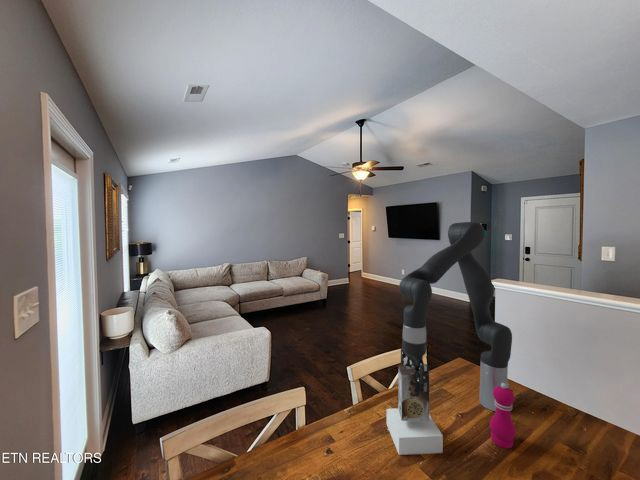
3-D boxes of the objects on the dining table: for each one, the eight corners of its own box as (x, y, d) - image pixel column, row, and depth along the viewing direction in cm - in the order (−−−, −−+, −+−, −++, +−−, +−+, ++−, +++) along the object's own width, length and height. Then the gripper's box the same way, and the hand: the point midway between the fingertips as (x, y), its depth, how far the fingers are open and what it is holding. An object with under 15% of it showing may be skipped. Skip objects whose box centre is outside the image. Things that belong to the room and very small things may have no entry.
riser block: (424, 423, 106) (424, 407, 105) (442, 453, 92) (442, 435, 91) (386, 424, 105) (386, 408, 105) (398, 455, 91) (399, 437, 91)
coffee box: (424, 409, 101) (425, 364, 100) (429, 422, 94) (430, 374, 93) (397, 408, 102) (398, 363, 101) (400, 421, 95) (401, 373, 94)
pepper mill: (511, 436, 99) (513, 379, 97) (518, 452, 92) (520, 391, 90) (487, 431, 101) (489, 375, 100) (492, 446, 94) (494, 387, 93)
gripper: (437, 346, 90) (436, 396, 91) (413, 329, 104) (412, 373, 105) (415, 348, 88) (414, 400, 90) (393, 330, 102) (393, 375, 104)
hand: (413, 385), depth 97 cm, fingers closed on coffee box, 7 cm apart
